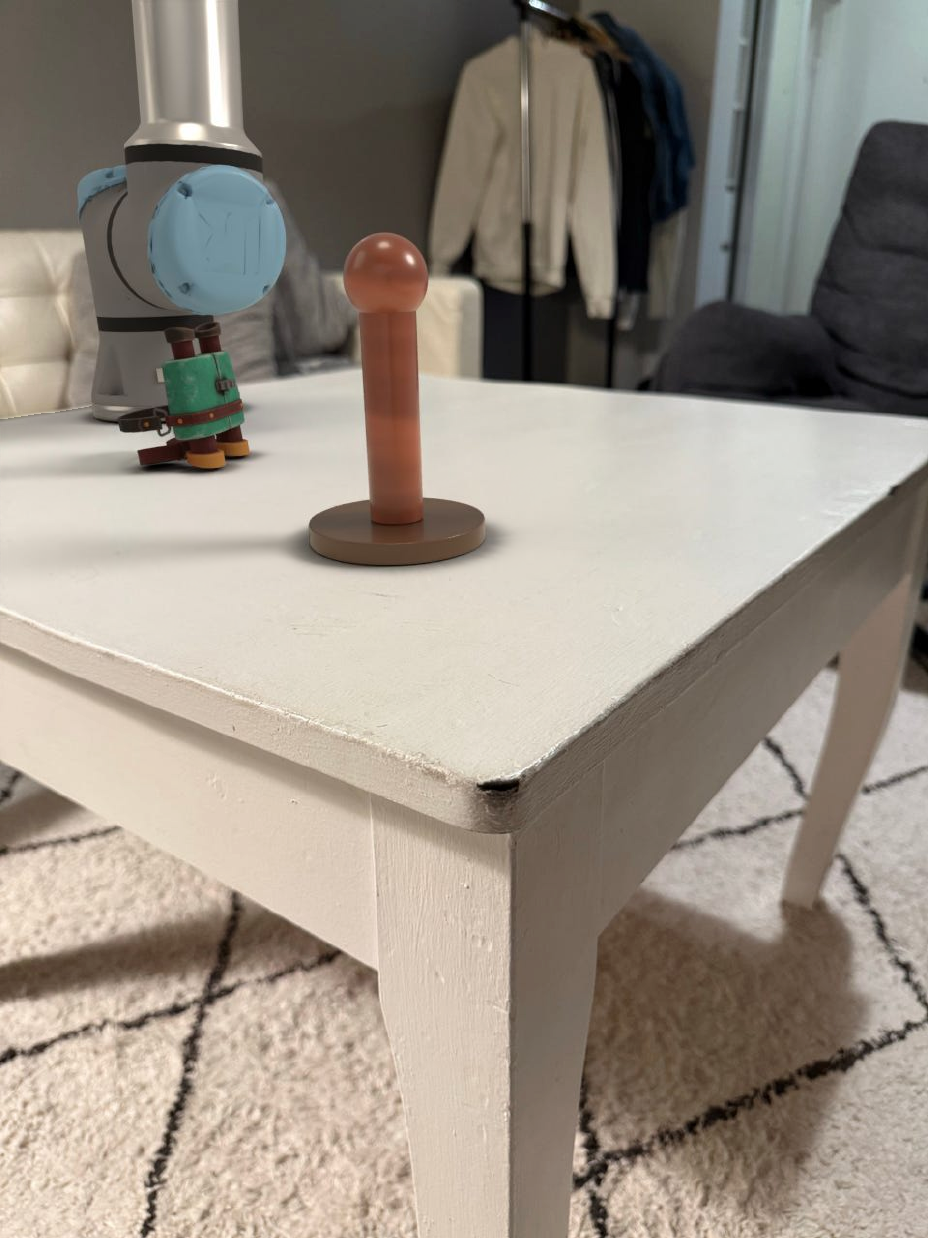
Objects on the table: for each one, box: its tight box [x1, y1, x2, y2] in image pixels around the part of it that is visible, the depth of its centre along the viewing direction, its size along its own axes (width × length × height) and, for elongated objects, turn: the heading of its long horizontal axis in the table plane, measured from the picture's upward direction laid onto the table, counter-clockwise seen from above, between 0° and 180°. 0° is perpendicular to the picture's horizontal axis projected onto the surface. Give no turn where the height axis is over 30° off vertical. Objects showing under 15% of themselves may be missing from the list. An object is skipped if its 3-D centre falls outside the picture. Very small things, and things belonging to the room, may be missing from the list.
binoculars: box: [117, 321, 251, 469], centre depth 72 cm, size 9×11×10 cm
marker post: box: [308, 231, 486, 566], centre depth 49 cm, size 10×10×16 cm
